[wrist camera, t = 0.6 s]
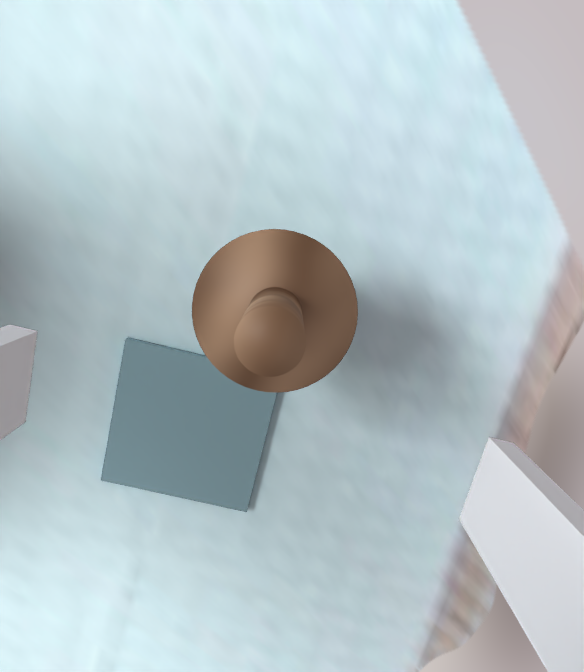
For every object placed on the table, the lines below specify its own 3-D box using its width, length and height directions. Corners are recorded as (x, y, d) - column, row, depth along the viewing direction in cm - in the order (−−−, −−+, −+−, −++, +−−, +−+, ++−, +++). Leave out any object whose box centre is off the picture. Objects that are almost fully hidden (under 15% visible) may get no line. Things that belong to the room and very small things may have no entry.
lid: (181, 368, 33) (141, 417, 24) (212, 210, 31) (182, 203, 22) (332, 403, 34) (347, 464, 25) (374, 251, 31) (407, 260, 23)
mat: (103, 476, 45) (100, 480, 44) (127, 337, 42) (125, 338, 41) (247, 508, 46) (246, 512, 45) (281, 373, 43) (281, 375, 42)
